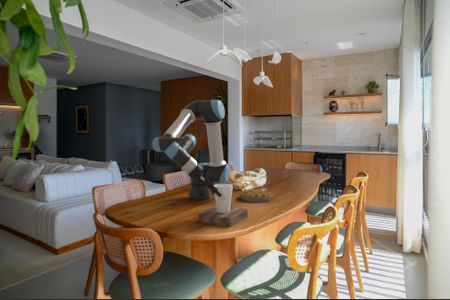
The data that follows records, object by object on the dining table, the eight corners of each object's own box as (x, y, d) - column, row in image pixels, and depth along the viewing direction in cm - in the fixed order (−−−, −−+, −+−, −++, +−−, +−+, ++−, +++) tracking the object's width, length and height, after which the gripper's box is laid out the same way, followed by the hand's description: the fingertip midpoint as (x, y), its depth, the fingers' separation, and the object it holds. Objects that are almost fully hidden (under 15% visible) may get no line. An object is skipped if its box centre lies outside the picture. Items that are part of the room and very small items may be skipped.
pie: (278, 201, 182) (278, 193, 182) (246, 204, 176) (246, 196, 176) (263, 194, 203) (263, 187, 203) (234, 197, 197) (234, 189, 196)
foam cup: (219, 214, 139) (218, 187, 138) (210, 210, 147) (210, 184, 146) (236, 212, 143) (235, 186, 142) (227, 207, 151) (227, 183, 150)
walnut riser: (198, 221, 142) (198, 213, 142) (217, 212, 157) (217, 205, 157) (230, 226, 133) (230, 218, 133) (247, 216, 148) (247, 209, 148)
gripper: (185, 170, 153) (214, 197, 156) (188, 177, 128) (222, 209, 132) (195, 160, 153) (223, 187, 157) (200, 165, 129) (233, 197, 132)
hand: (223, 197), depth 144 cm, fingers open, 13 cm apart
